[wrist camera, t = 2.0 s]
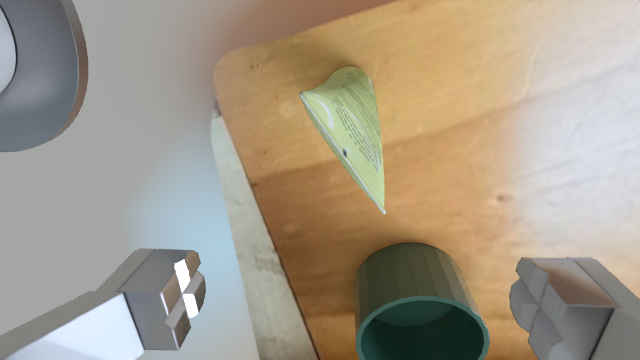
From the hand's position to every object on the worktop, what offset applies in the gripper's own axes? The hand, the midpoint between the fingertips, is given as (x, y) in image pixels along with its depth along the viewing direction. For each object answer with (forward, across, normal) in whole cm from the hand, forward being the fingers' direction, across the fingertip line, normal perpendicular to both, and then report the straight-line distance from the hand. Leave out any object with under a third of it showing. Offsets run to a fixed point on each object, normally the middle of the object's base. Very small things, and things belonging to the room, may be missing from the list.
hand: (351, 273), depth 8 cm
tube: (+28, 0, 0) cm, 28 cm away
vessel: (+28, -8, +26) cm, 39 cm away
